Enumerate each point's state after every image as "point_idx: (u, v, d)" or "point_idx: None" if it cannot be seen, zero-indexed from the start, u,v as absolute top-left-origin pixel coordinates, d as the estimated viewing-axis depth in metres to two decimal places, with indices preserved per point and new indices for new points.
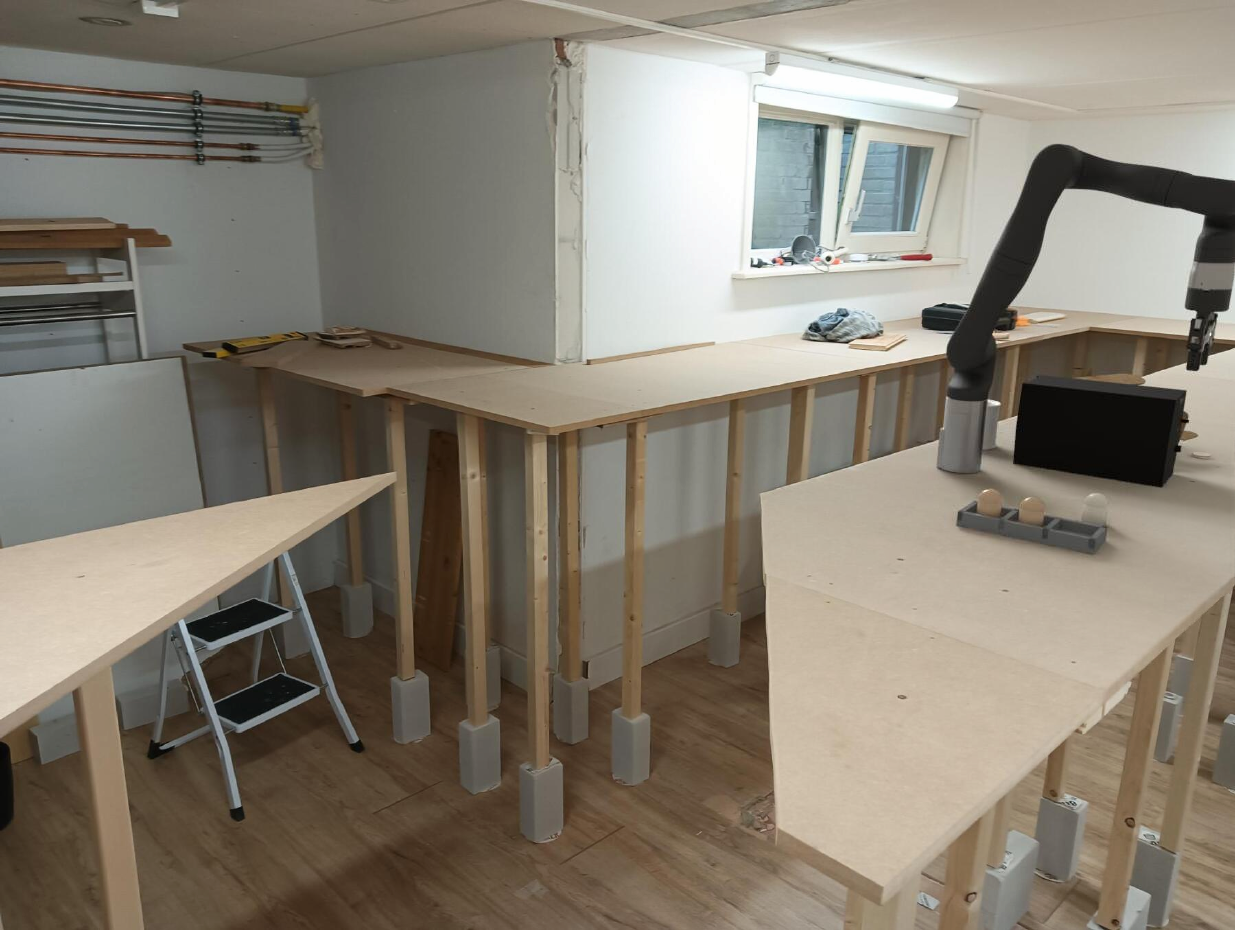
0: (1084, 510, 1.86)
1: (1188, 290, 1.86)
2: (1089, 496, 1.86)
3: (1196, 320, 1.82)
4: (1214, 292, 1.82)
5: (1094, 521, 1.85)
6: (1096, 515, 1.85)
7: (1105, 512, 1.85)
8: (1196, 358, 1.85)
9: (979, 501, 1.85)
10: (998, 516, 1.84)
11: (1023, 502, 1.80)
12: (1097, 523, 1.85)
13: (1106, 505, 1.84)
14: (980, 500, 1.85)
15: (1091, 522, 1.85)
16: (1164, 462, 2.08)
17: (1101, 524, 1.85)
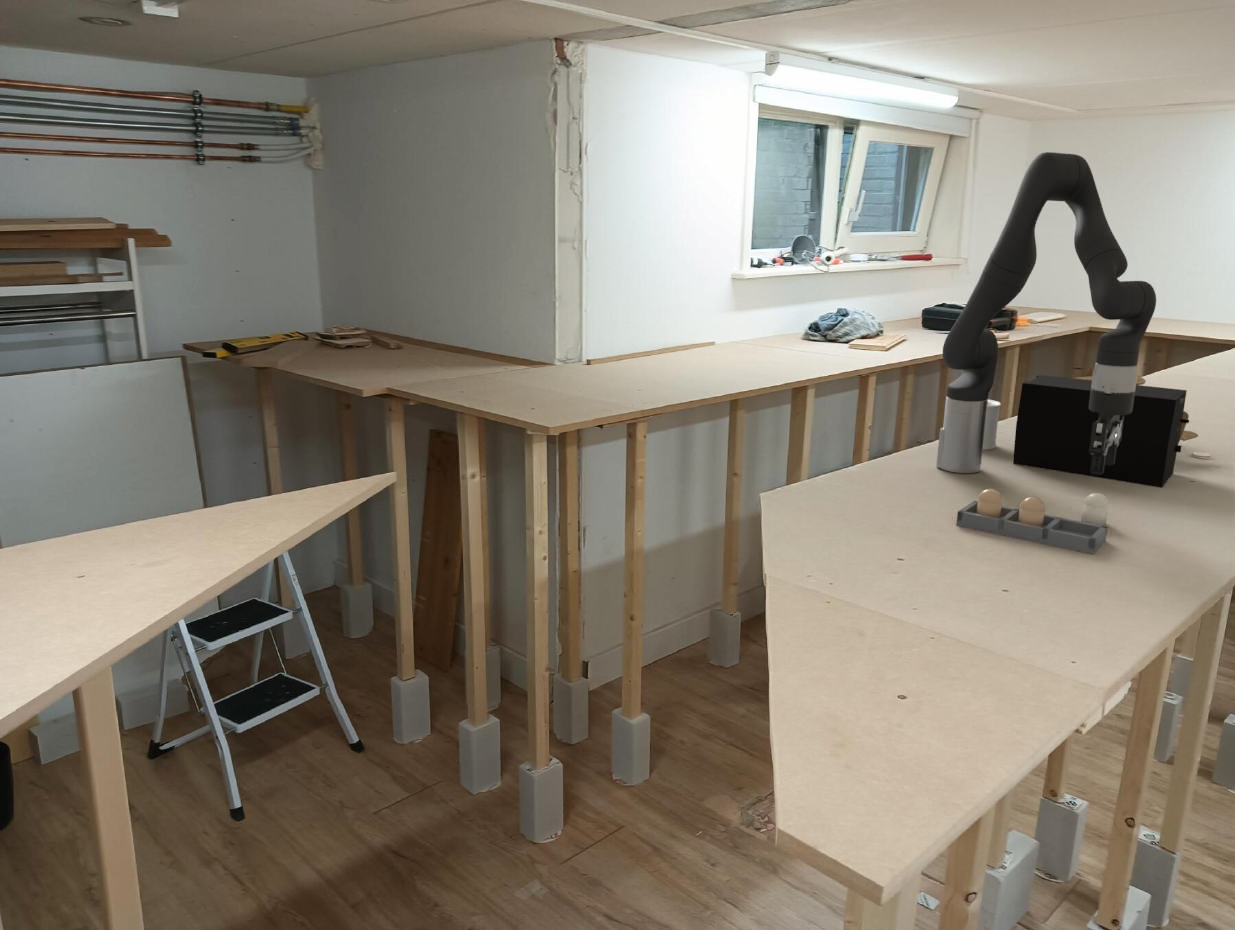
0: (1084, 510, 1.86)
1: (1091, 391, 1.81)
2: (1089, 496, 1.86)
3: (1097, 424, 1.77)
4: (1116, 395, 1.77)
5: (1094, 521, 1.85)
6: (1096, 515, 1.85)
7: (1105, 512, 1.85)
8: (1099, 462, 1.79)
9: (979, 501, 1.85)
10: (998, 516, 1.84)
11: (1023, 502, 1.80)
12: (1097, 523, 1.85)
13: (1106, 505, 1.84)
14: (980, 500, 1.85)
15: (1091, 522, 1.85)
16: (1164, 462, 2.08)
17: (1101, 524, 1.85)
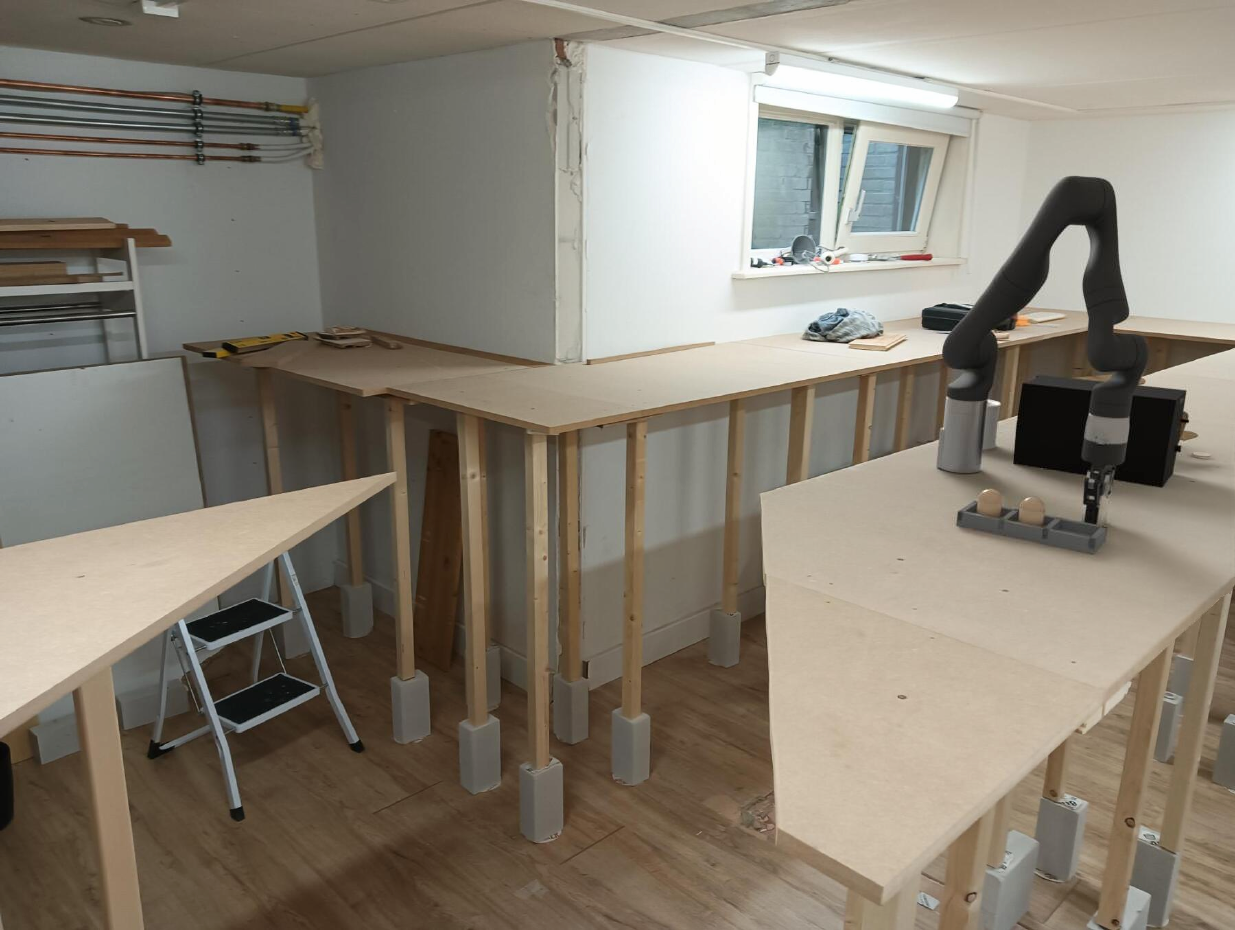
0: (1084, 510, 1.86)
1: (1084, 441, 1.83)
2: None
3: (1089, 481, 1.80)
4: (1108, 446, 1.79)
5: None
6: None
7: (1105, 512, 1.85)
8: (1093, 513, 1.84)
9: (979, 501, 1.85)
10: (998, 516, 1.84)
11: (1023, 502, 1.80)
12: (1097, 523, 1.85)
13: (1106, 505, 1.84)
14: (980, 500, 1.85)
15: None
16: (1164, 462, 2.08)
17: (1101, 524, 1.85)
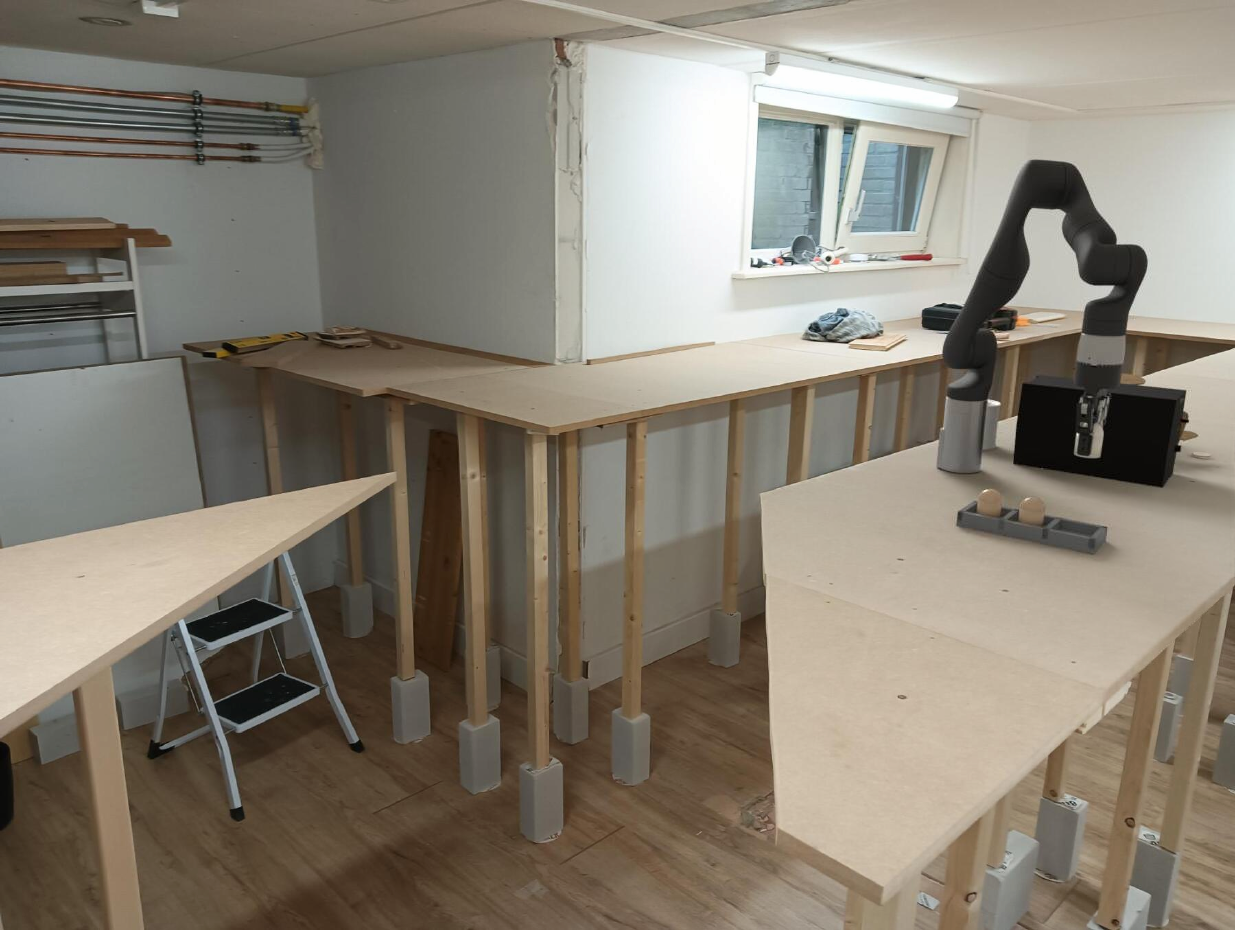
0: (1077, 440, 1.71)
1: (1076, 364, 1.69)
2: None
3: (1082, 406, 1.65)
4: (1102, 368, 1.64)
5: None
6: None
7: (1099, 442, 1.70)
8: (1086, 442, 1.69)
9: (979, 501, 1.85)
10: (998, 516, 1.84)
11: (1023, 502, 1.80)
12: (1091, 454, 1.70)
13: (1101, 434, 1.69)
14: (980, 500, 1.85)
15: None
16: (1165, 462, 2.08)
17: (1095, 455, 1.70)
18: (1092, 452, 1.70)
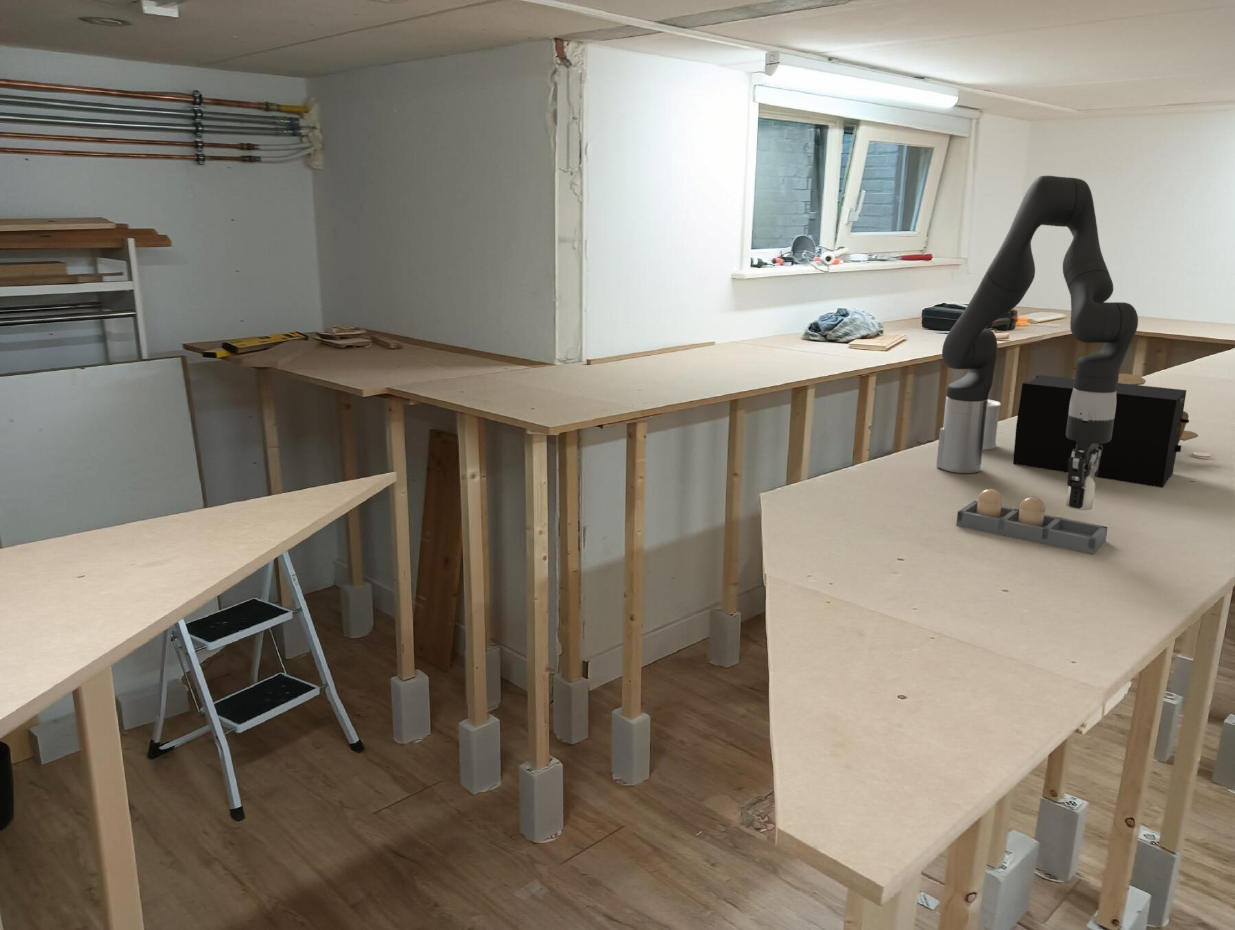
0: (1069, 492, 1.74)
1: (1068, 418, 1.71)
2: None
3: (1073, 460, 1.67)
4: (1094, 423, 1.67)
5: None
6: None
7: (1091, 495, 1.72)
8: (1078, 495, 1.71)
9: (979, 501, 1.85)
10: (998, 516, 1.84)
11: (1023, 502, 1.80)
12: (1083, 506, 1.73)
13: (1092, 487, 1.72)
14: (980, 500, 1.85)
15: None
16: (1165, 462, 2.08)
17: (1087, 507, 1.73)
18: (1084, 504, 1.73)
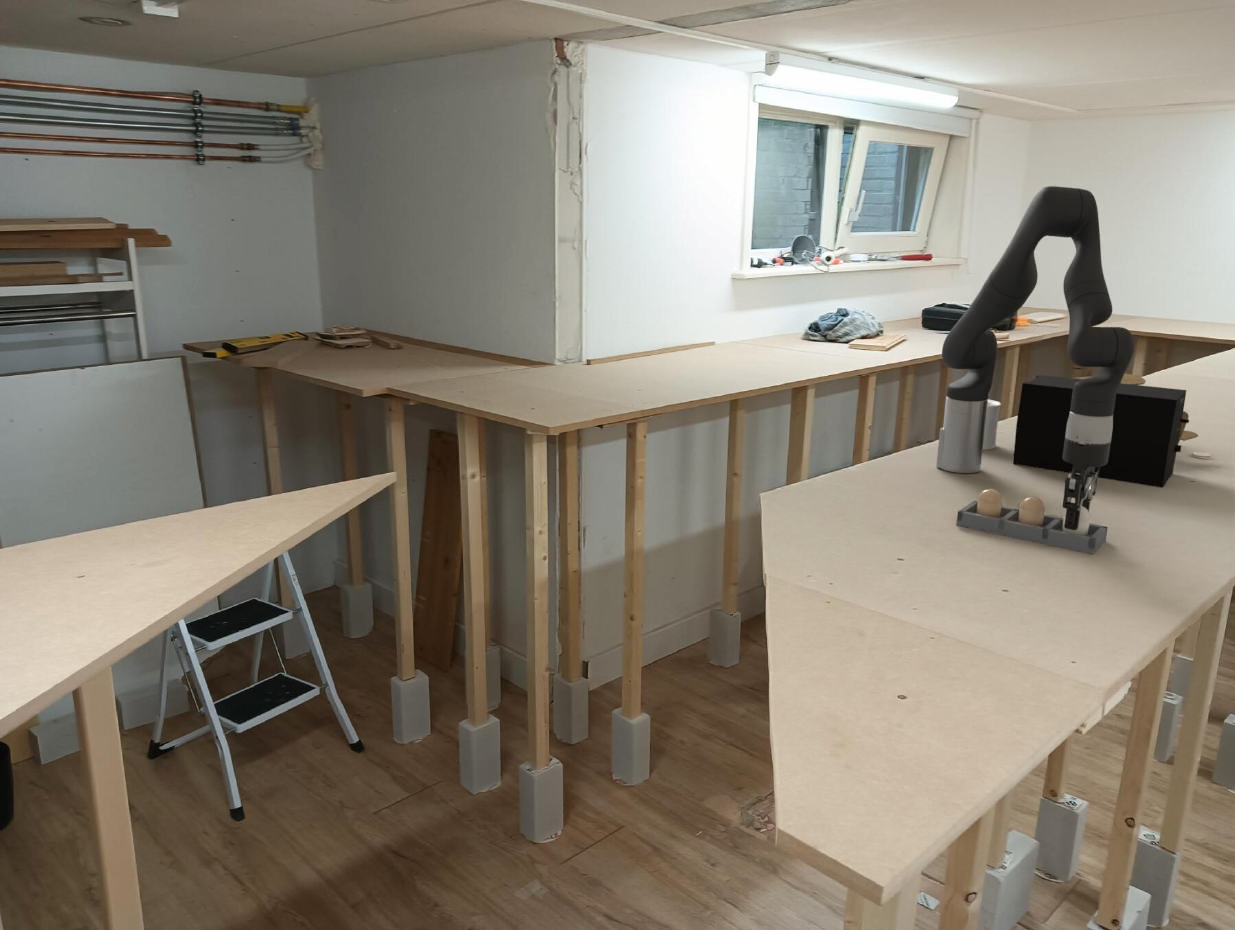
0: (1064, 523, 1.76)
1: (1065, 441, 1.72)
2: None
3: (1070, 481, 1.68)
4: (1090, 447, 1.68)
5: None
6: (1077, 529, 1.74)
7: (1086, 526, 1.74)
8: (1074, 517, 1.72)
9: (979, 501, 1.85)
10: (998, 516, 1.84)
11: (1023, 502, 1.80)
12: None
13: (1087, 518, 1.74)
14: (980, 500, 1.85)
15: None
16: (1165, 462, 2.08)
17: None
18: None
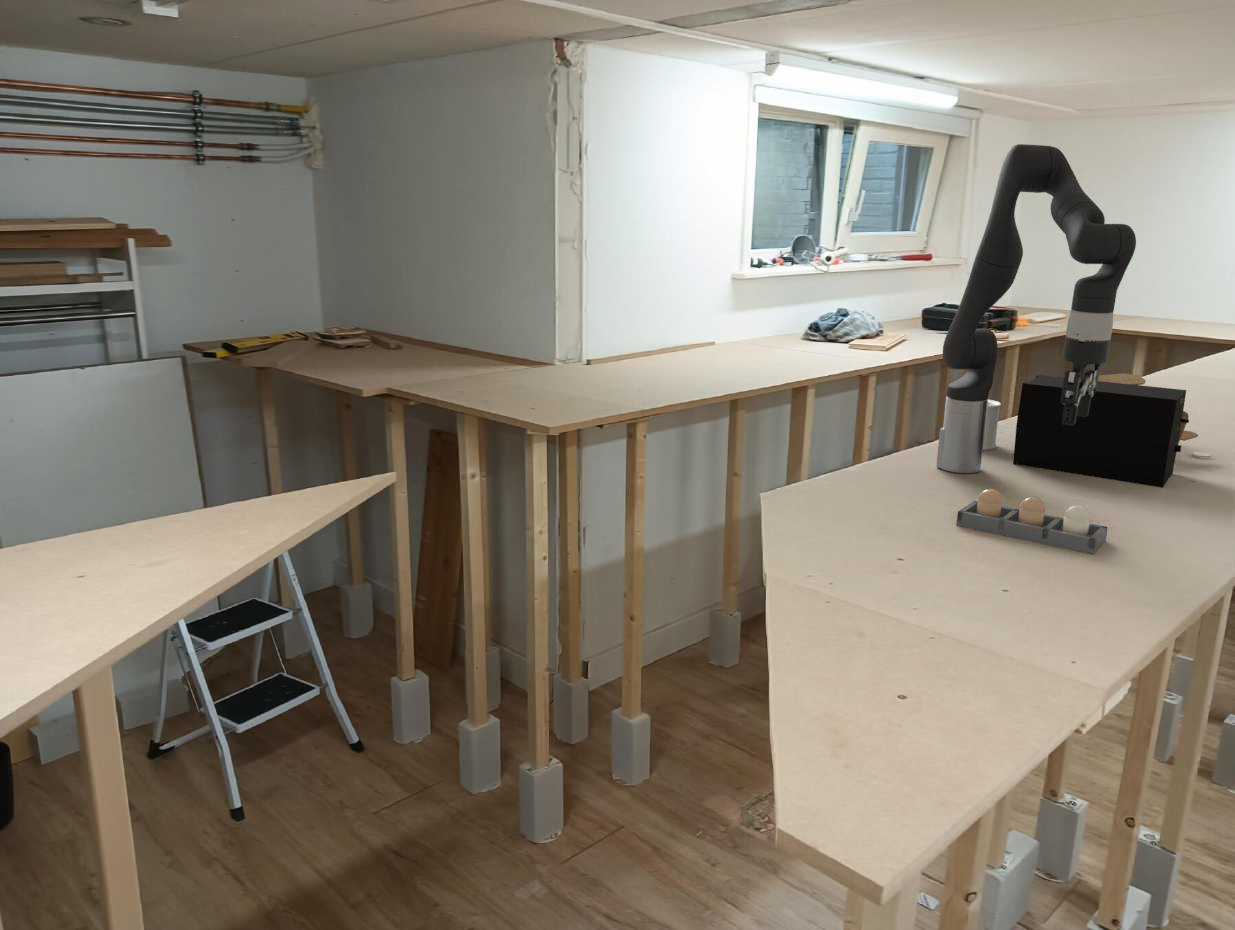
0: (1065, 523, 1.76)
1: (1065, 339, 1.75)
2: (1070, 508, 1.75)
3: (1070, 373, 1.71)
4: (1090, 343, 1.70)
5: None
6: (1077, 528, 1.74)
7: (1086, 526, 1.74)
8: (1071, 412, 1.74)
9: (979, 501, 1.85)
10: (998, 516, 1.84)
11: (1023, 502, 1.80)
12: None
13: (1088, 518, 1.74)
14: (980, 500, 1.85)
15: None
16: (1165, 462, 2.08)
17: None
18: None
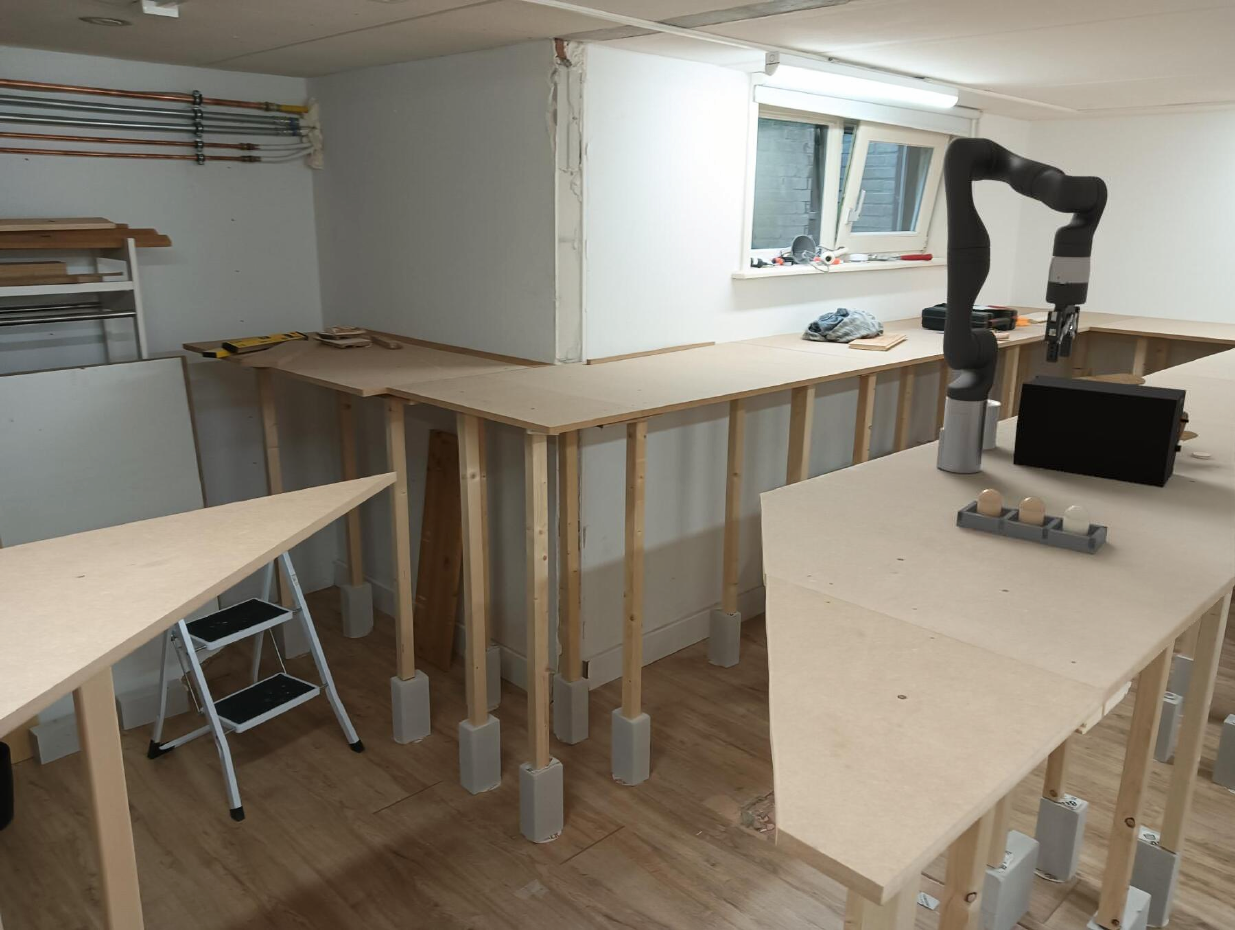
0: (1064, 523, 1.76)
1: (1048, 284, 1.91)
2: (1069, 508, 1.75)
3: (1052, 313, 1.87)
4: (1070, 285, 1.87)
5: None
6: (1077, 528, 1.74)
7: (1086, 526, 1.74)
8: (1054, 350, 1.90)
9: (979, 501, 1.85)
10: (998, 516, 1.84)
11: (1023, 502, 1.80)
12: None
13: (1088, 518, 1.74)
14: (980, 500, 1.85)
15: None
16: (1165, 462, 2.08)
17: None
18: None
